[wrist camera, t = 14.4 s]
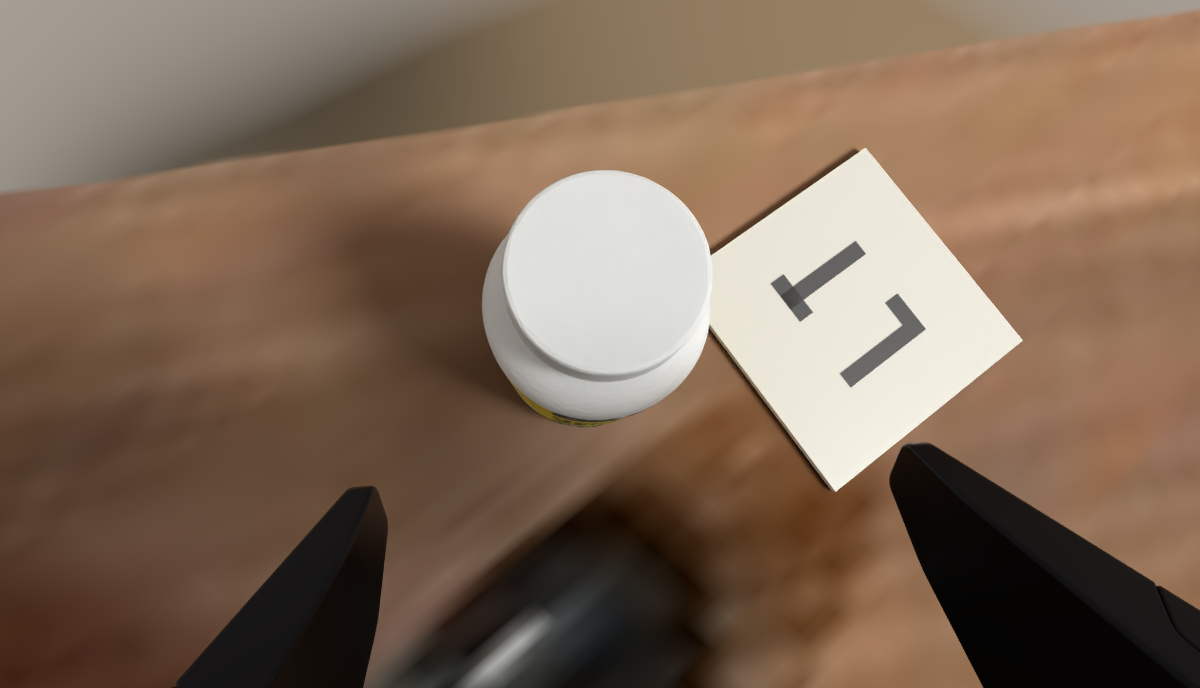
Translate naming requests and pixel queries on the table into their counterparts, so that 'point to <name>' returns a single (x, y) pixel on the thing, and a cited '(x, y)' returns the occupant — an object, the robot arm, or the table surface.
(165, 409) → the table surface
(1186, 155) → the table surface
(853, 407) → the tile
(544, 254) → the supplement bottle
